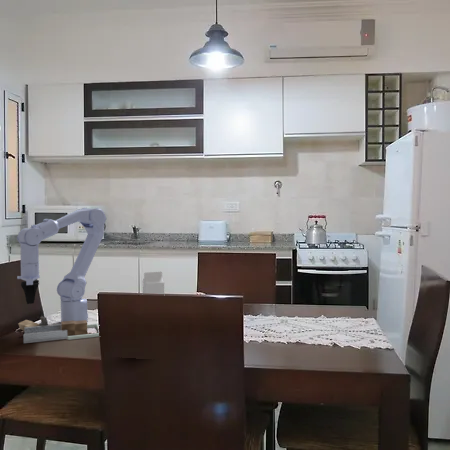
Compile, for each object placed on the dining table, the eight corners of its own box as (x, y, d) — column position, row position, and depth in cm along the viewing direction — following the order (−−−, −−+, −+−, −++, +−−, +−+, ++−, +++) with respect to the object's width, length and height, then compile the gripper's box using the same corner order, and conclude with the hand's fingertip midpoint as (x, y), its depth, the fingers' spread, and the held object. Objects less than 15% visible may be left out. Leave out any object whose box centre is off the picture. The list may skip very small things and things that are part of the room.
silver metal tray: (65, 332, 157) (65, 323, 157) (67, 340, 148) (67, 330, 148) (24, 336, 152) (24, 327, 152) (23, 345, 143) (23, 335, 143)
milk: (143, 337, 152) (142, 271, 151) (161, 335, 154) (160, 270, 153) (146, 342, 146) (145, 273, 145) (165, 340, 148) (164, 272, 147)
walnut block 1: (74, 332, 155) (73, 320, 155) (74, 335, 151) (74, 323, 151) (61, 333, 154) (61, 321, 153) (62, 336, 150) (61, 324, 150)
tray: (98, 328, 163) (98, 323, 162) (103, 338, 150) (102, 333, 150) (65, 331, 158) (65, 326, 158) (67, 342, 146) (67, 337, 146)
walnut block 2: (86, 331, 157) (86, 320, 156) (87, 334, 153) (87, 322, 153) (74, 332, 155) (73, 321, 155) (74, 336, 151) (74, 324, 151)
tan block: (49, 331, 158) (36, 326, 164) (46, 317, 157) (33, 313, 163) (33, 338, 154) (21, 334, 160) (30, 324, 153) (17, 320, 159)
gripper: (17, 261, 162) (18, 299, 162) (15, 266, 148) (16, 307, 149) (39, 260, 164) (40, 297, 165) (39, 265, 151) (40, 306, 151)
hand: (30, 302), depth 157 cm, fingers open, 3 cm apart
